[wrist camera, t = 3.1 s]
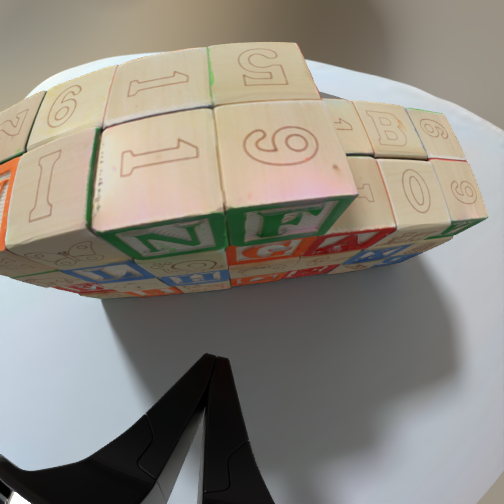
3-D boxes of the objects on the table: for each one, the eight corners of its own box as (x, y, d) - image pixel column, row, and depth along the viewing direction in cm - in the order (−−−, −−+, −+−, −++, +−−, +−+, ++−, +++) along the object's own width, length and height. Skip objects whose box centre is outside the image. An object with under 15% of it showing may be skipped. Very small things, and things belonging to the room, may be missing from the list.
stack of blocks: (380, 185, 20) (474, 80, 8) (401, 263, 19) (535, 198, 7) (97, 214, 18) (-8, 111, 6) (97, 301, 17) (-49, 261, 5)
